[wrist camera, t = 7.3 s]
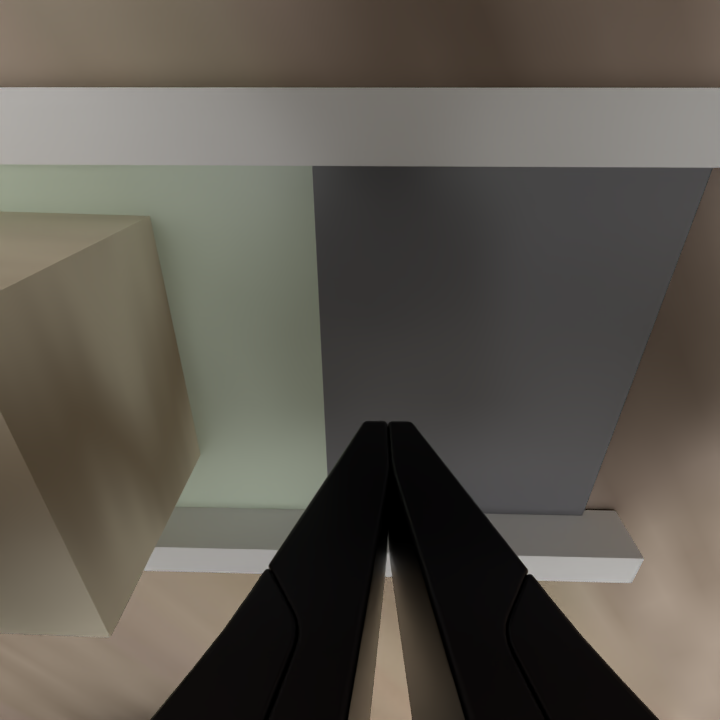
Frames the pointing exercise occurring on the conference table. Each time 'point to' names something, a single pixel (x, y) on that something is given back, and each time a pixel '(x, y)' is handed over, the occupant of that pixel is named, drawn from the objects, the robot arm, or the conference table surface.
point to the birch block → (84, 418)
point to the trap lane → (389, 283)
